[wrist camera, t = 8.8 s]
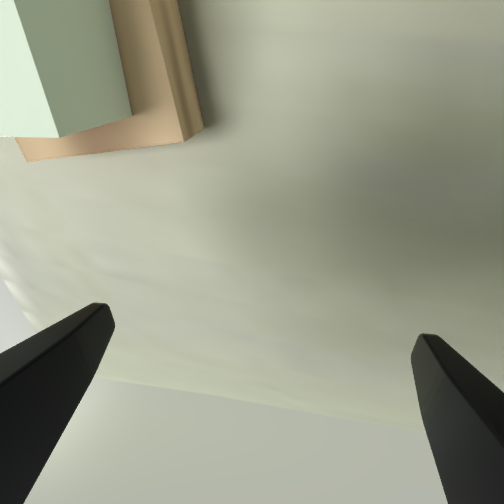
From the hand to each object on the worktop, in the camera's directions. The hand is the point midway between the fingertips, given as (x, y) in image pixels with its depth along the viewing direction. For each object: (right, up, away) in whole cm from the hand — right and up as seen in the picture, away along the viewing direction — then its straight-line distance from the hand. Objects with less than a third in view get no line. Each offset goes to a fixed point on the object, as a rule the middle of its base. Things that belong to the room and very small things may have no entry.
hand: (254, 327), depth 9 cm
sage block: (-8, +11, +4) cm, 14 cm away
